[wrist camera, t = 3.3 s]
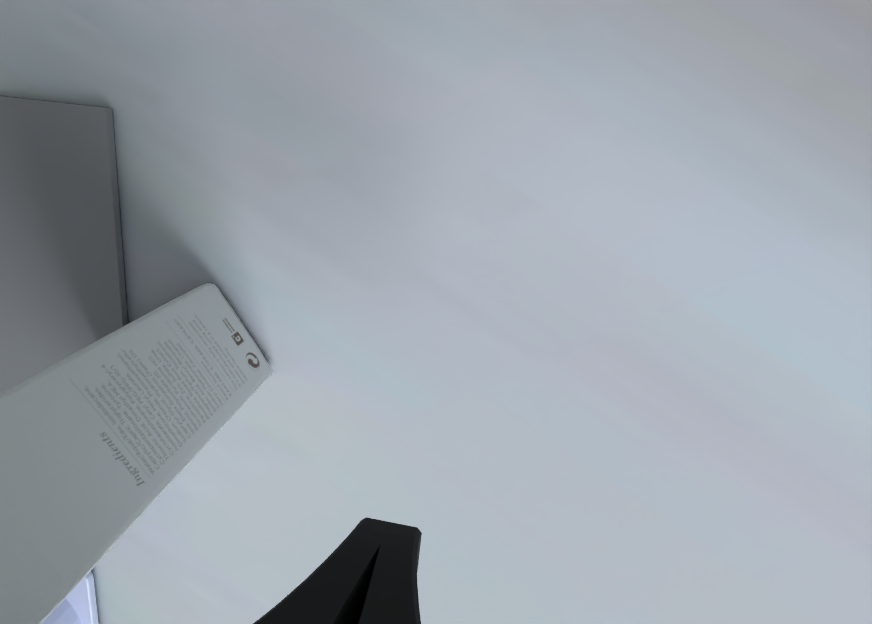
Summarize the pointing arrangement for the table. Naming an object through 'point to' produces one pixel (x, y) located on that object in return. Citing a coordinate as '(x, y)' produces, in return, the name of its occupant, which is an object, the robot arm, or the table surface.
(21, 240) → the mat
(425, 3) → the table surface
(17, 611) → the skincare box
